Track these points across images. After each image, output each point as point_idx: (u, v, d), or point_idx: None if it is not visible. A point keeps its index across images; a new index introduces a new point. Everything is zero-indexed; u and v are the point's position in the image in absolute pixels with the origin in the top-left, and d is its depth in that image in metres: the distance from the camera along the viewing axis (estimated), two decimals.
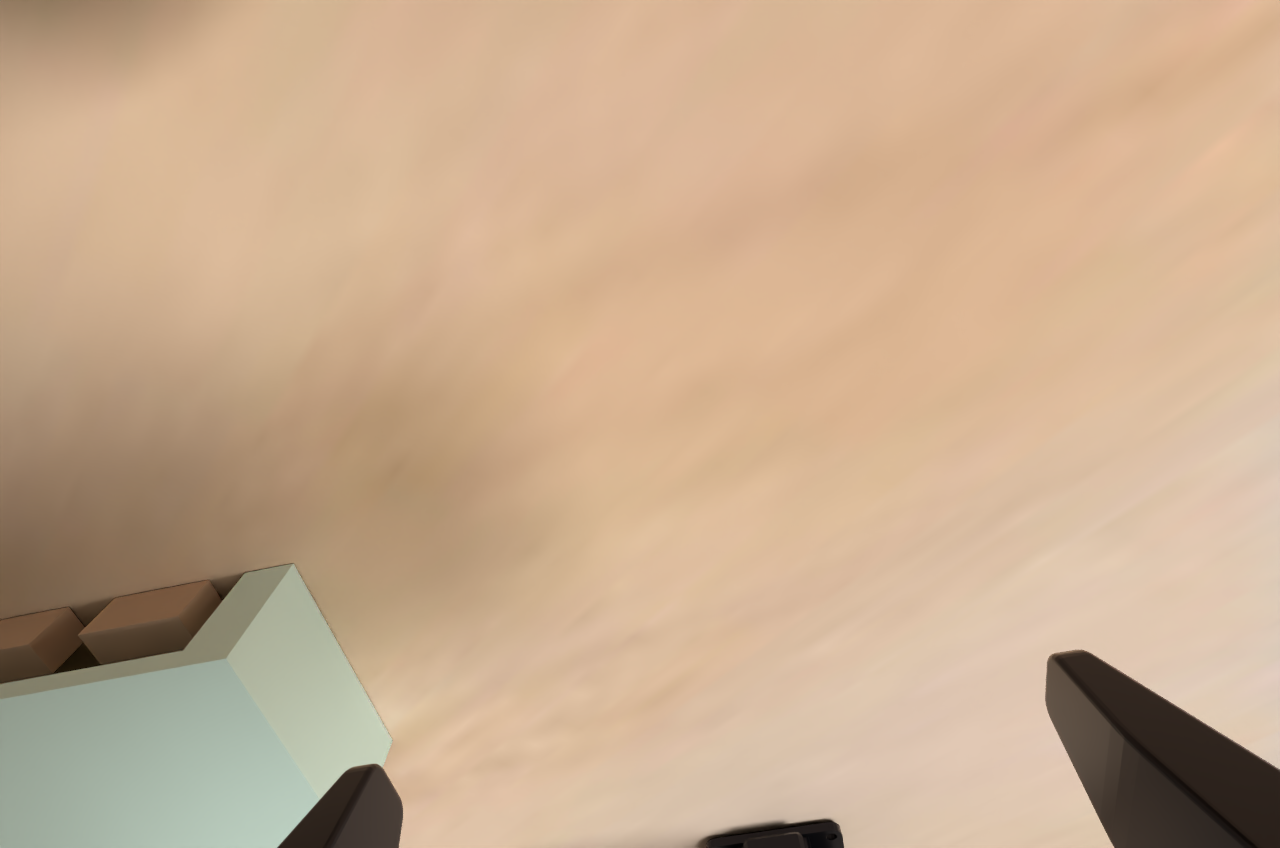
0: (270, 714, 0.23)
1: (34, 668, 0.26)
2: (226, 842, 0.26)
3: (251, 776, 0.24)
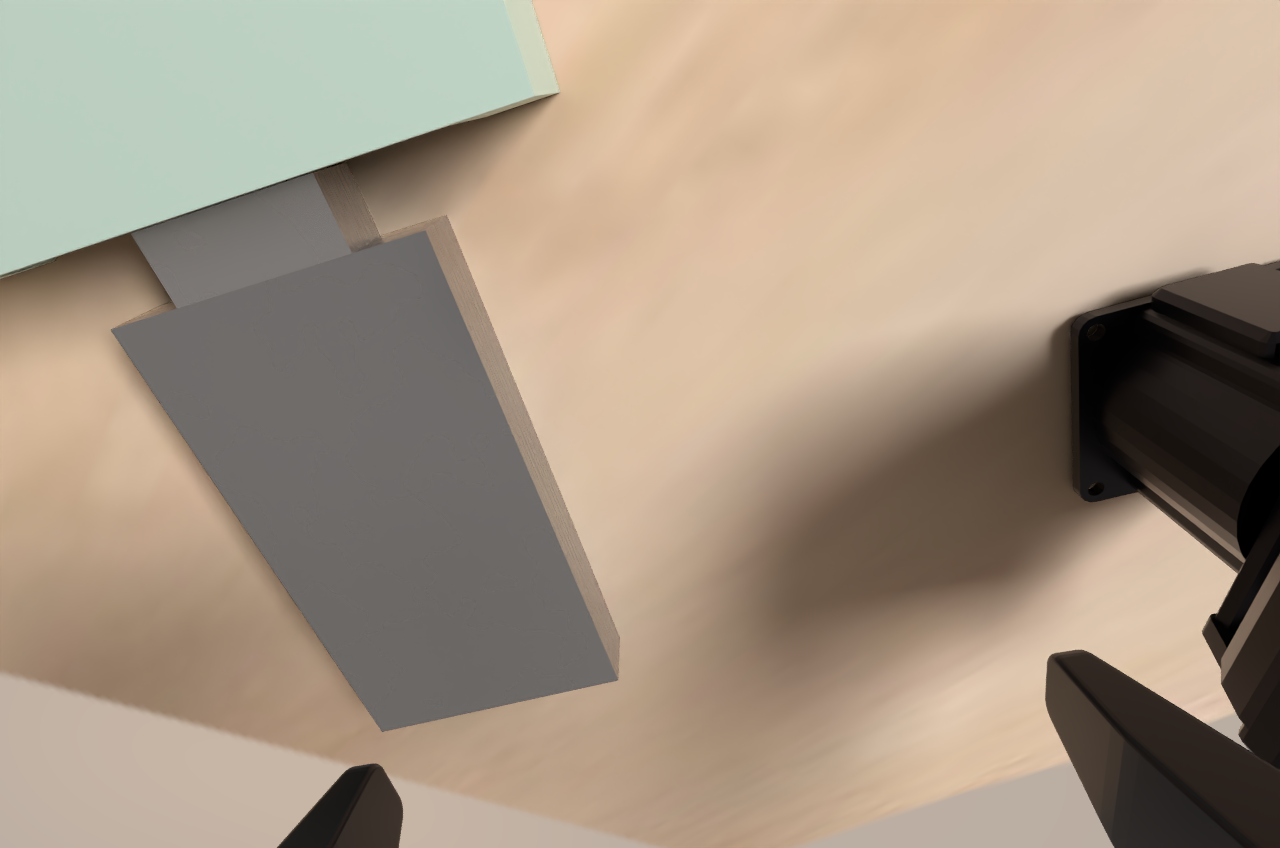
0: None
1: None
2: (289, 91, 0.13)
3: None
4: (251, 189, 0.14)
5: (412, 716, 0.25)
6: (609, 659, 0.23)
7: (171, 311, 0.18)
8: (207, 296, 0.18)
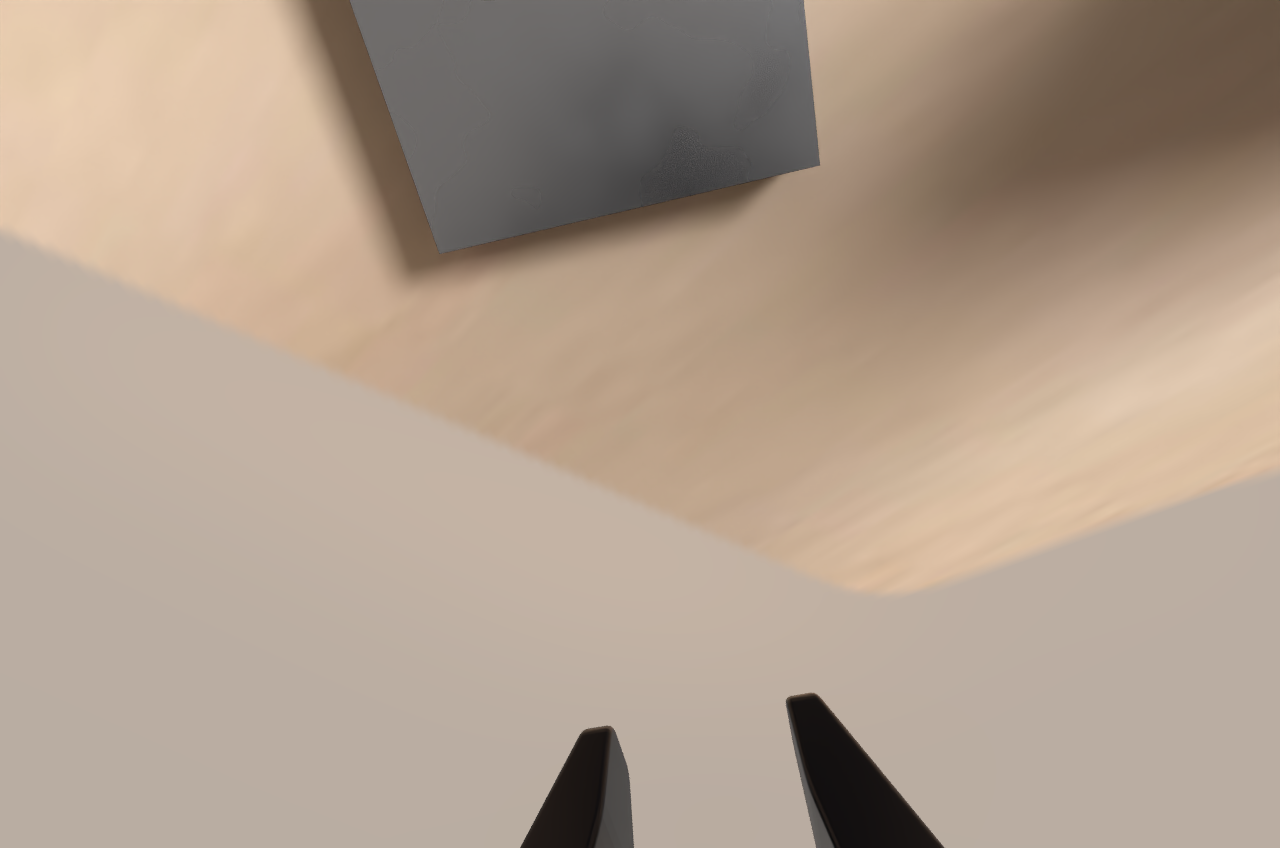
0: None
1: None
2: None
3: None
4: None
5: (490, 224, 0.16)
6: (814, 116, 0.15)
7: None
8: None
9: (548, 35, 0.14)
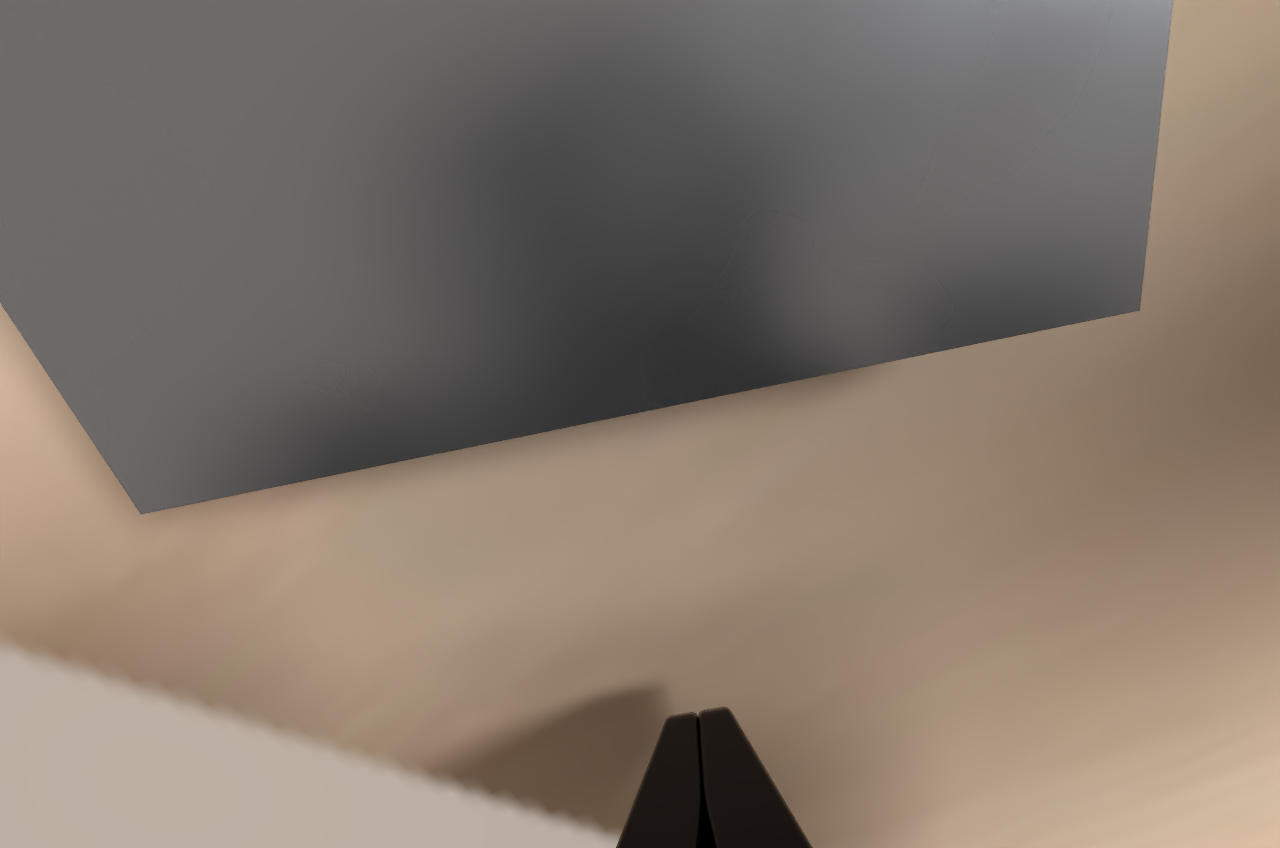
0: None
1: None
2: None
3: None
4: None
5: (257, 449, 0.06)
6: (1152, 183, 0.05)
7: None
8: None
9: None
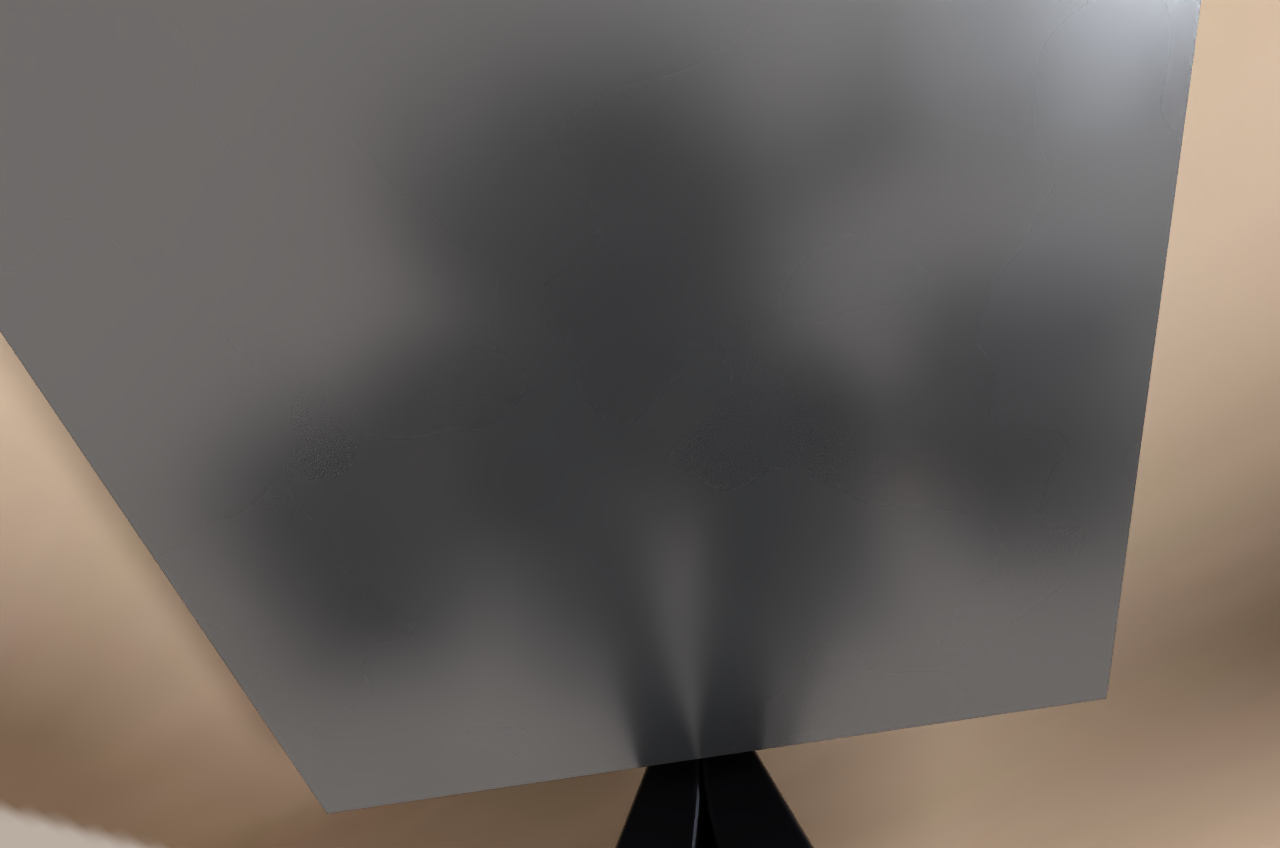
0: None
1: None
2: None
3: None
4: None
5: (424, 775, 0.08)
6: (1115, 628, 0.07)
7: None
8: None
9: (543, 499, 0.06)
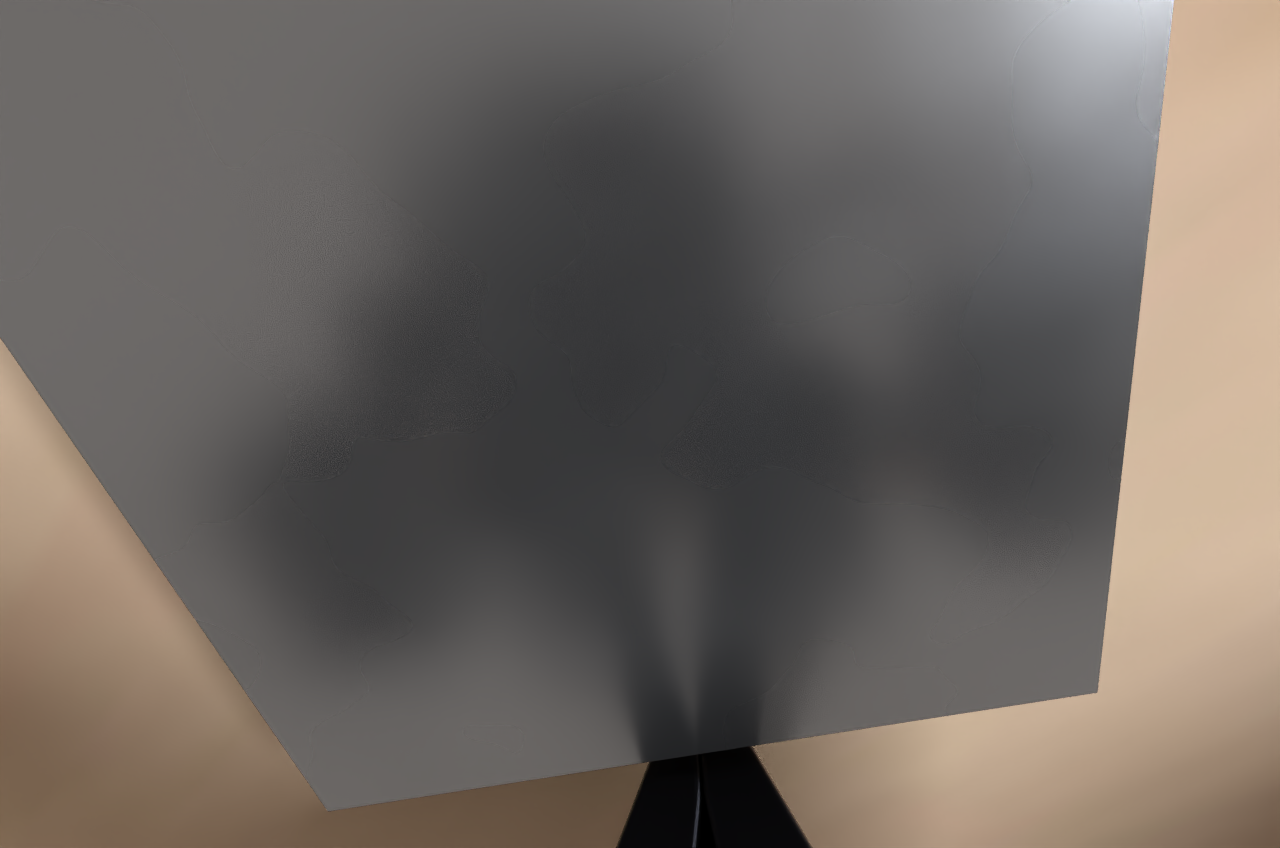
0: None
1: None
2: None
3: None
4: None
5: (423, 772, 0.08)
6: (1103, 623, 0.07)
7: None
8: None
9: (535, 499, 0.06)
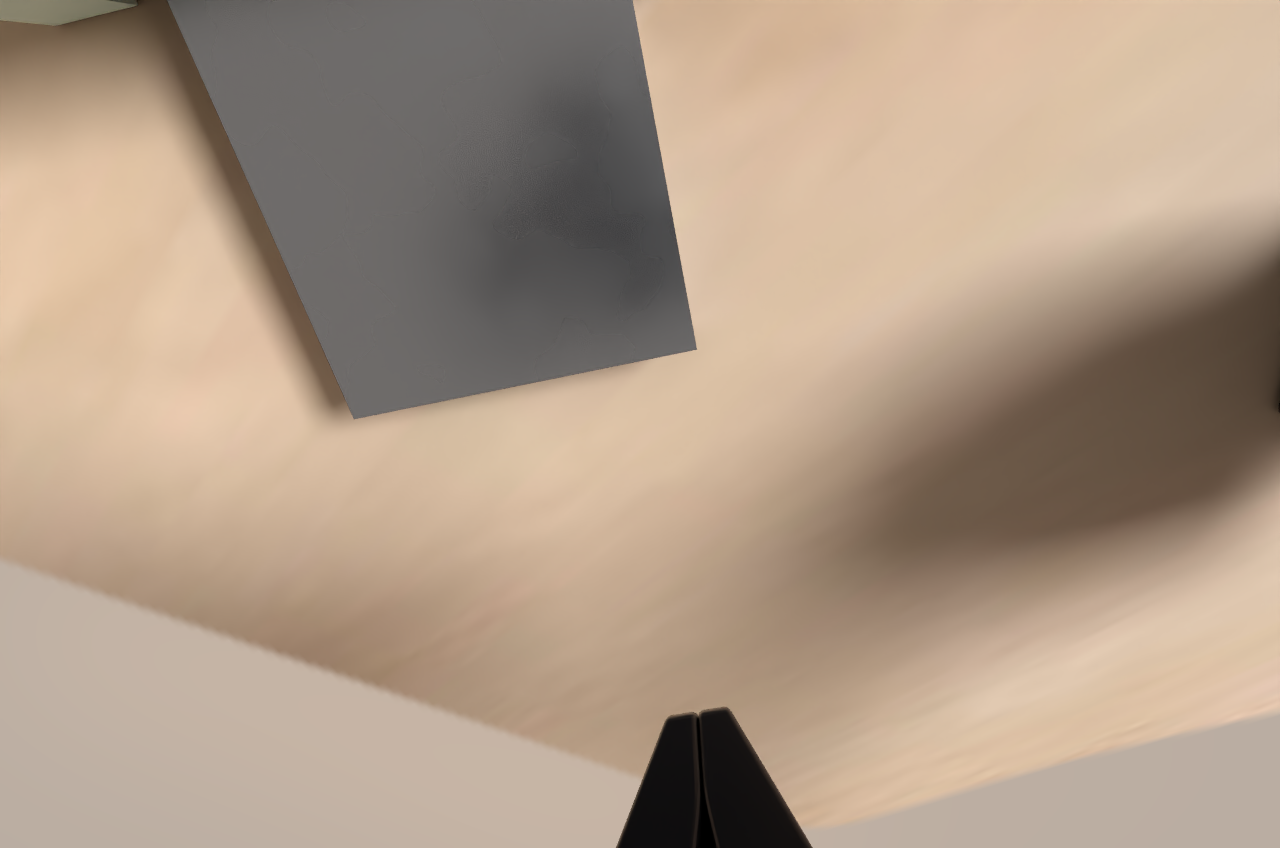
0: None
1: None
2: None
3: None
4: None
5: (399, 394, 0.18)
6: (689, 311, 0.17)
7: None
8: None
9: (444, 243, 0.16)
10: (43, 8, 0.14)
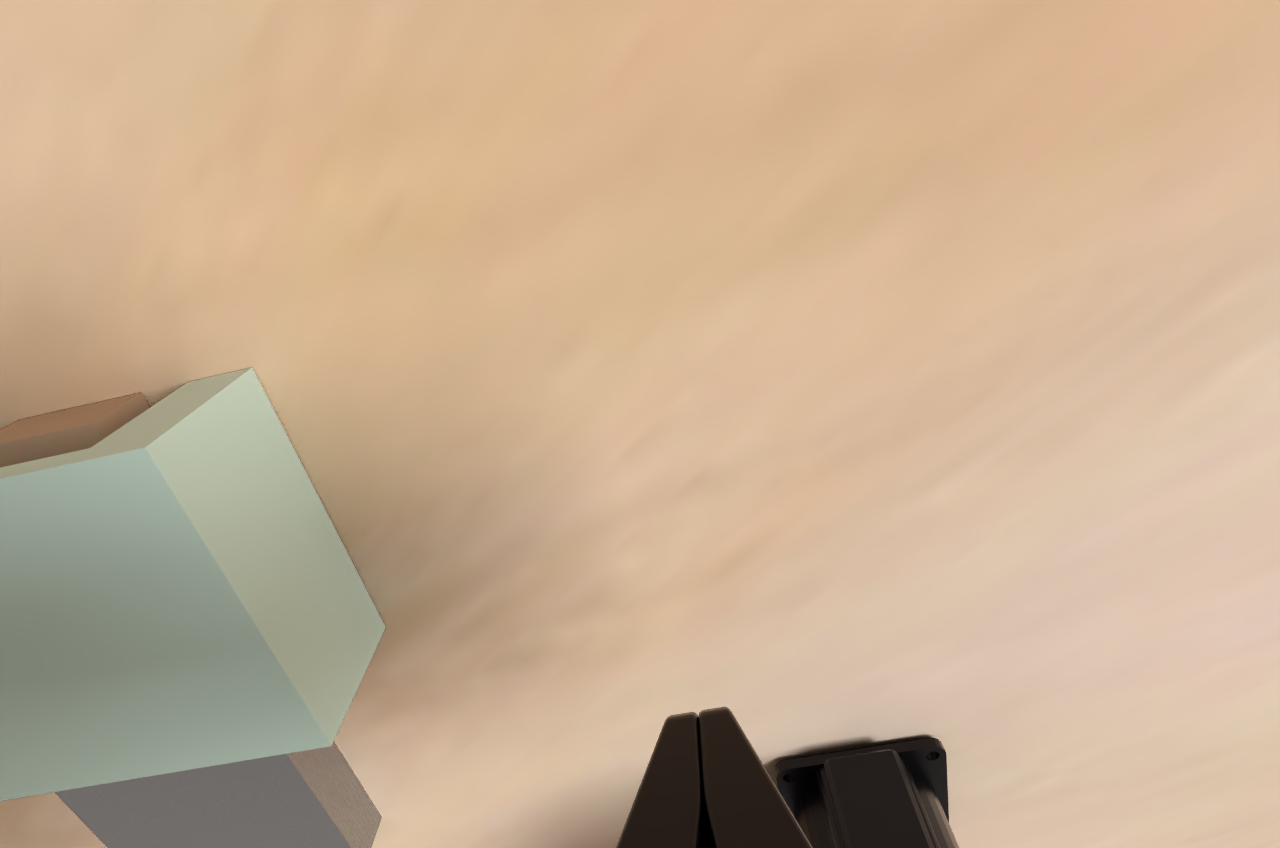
0: (213, 543, 0.17)
1: None
2: (164, 737, 0.20)
3: (191, 638, 0.18)
4: None
5: None
6: None
7: None
8: None
9: (193, 828, 0.26)
10: None
